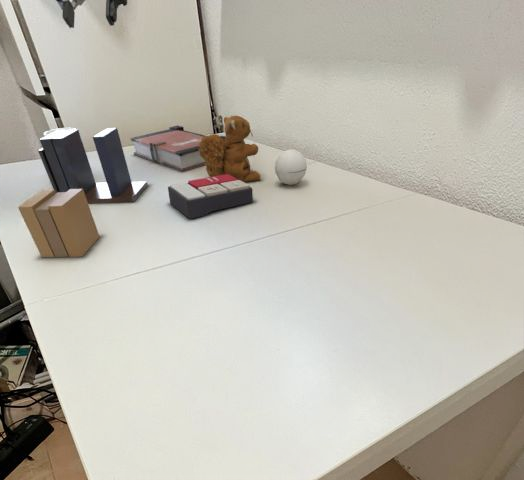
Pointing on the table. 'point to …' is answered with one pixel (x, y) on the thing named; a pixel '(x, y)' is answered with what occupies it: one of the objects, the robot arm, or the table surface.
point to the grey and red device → (209, 195)
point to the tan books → (60, 223)
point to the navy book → (112, 160)
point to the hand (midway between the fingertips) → (89, 23)
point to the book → (171, 148)
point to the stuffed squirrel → (230, 151)
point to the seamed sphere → (290, 167)
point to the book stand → (78, 169)
